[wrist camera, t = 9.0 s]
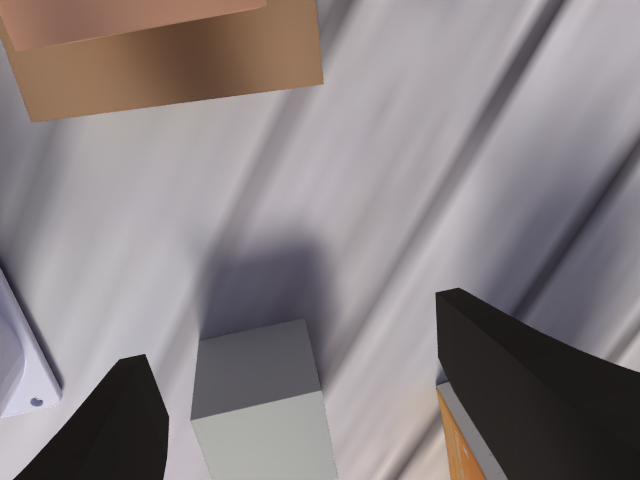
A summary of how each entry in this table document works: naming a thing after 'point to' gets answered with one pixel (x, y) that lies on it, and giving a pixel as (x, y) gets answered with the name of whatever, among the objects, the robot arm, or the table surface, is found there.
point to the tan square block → (172, 63)
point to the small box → (465, 441)
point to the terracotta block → (102, 17)
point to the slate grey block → (262, 406)
